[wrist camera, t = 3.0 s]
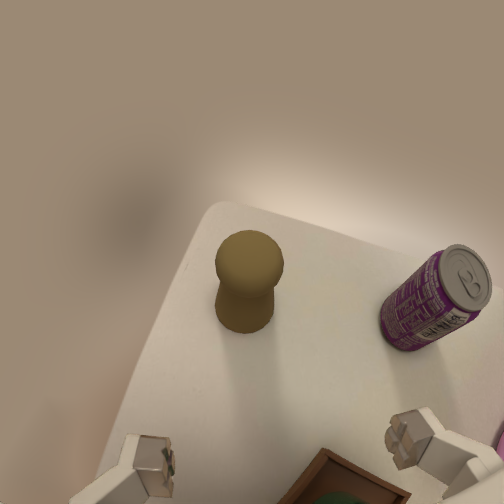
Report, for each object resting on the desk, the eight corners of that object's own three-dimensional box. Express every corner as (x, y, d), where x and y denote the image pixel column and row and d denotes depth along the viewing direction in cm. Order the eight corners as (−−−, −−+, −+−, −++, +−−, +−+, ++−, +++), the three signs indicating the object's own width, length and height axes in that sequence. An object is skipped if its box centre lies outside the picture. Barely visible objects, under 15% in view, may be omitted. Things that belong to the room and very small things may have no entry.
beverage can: (439, 331, 32) (505, 290, 21) (398, 364, 30) (467, 332, 19) (408, 283, 35) (464, 228, 24) (366, 311, 33) (420, 258, 22)
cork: (213, 333, 31) (206, 290, 21) (215, 277, 34) (210, 216, 24) (275, 333, 31) (295, 291, 22) (272, 278, 34) (289, 218, 25)
